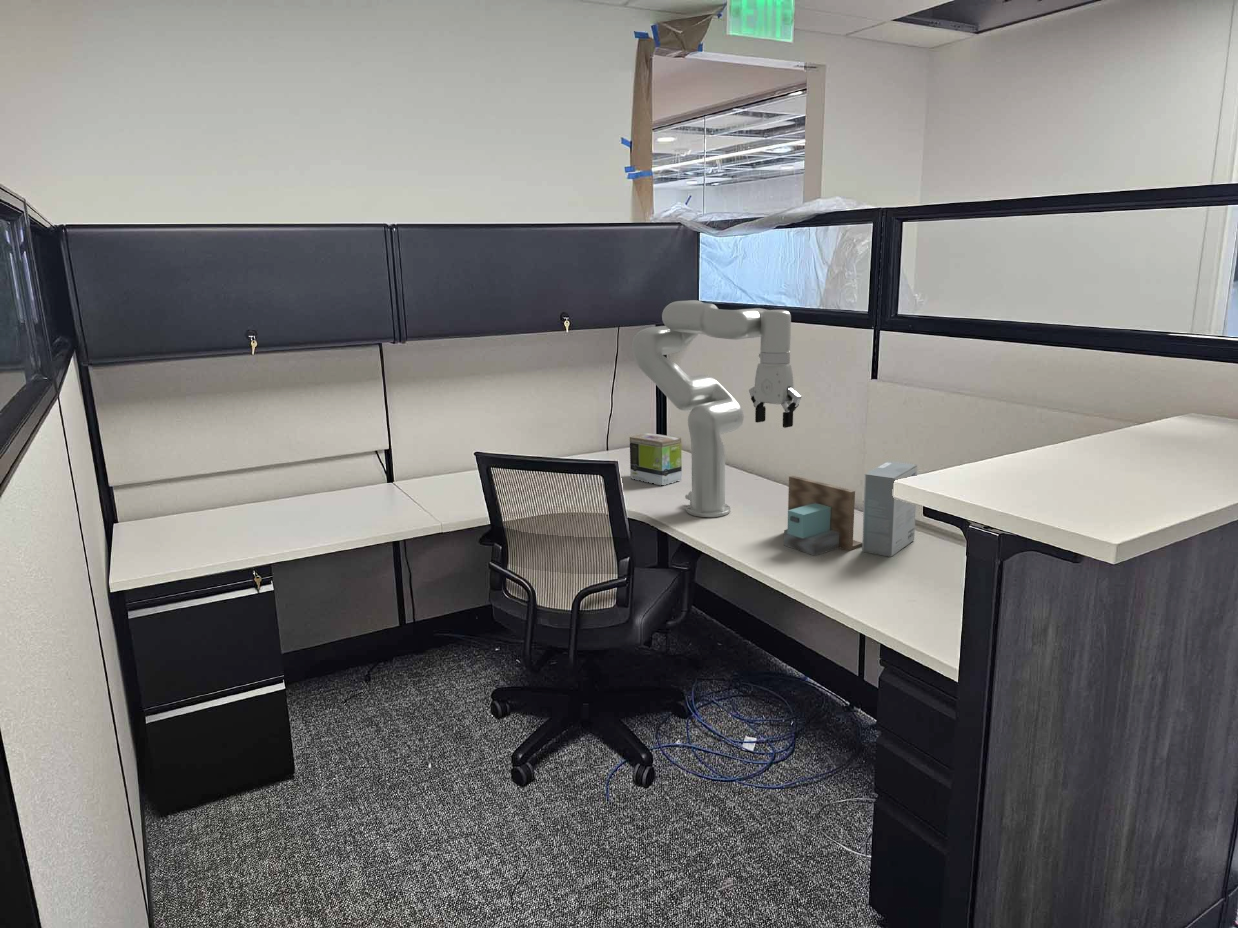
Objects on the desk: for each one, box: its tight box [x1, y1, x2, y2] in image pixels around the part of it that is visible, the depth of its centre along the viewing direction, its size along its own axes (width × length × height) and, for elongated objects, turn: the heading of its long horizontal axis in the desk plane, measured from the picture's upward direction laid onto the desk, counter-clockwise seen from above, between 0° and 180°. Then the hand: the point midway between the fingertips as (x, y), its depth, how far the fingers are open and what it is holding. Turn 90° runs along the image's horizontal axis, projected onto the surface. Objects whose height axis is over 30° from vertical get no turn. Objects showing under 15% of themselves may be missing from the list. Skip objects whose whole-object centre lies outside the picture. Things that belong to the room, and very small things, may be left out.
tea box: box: [629, 432, 683, 486], centre depth 272 cm, size 15×10×15 cm
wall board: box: [783, 475, 862, 557], centre depth 207 cm, size 20×14×15 cm
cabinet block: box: [786, 503, 831, 538], centre depth 204 cm, size 5×11×6 cm, turn 126°
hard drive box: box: [861, 460, 918, 558], centre depth 203 cm, size 16×8×20 cm, turn 141°
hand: (773, 424), depth 215 cm, fingers open, 9 cm apart
